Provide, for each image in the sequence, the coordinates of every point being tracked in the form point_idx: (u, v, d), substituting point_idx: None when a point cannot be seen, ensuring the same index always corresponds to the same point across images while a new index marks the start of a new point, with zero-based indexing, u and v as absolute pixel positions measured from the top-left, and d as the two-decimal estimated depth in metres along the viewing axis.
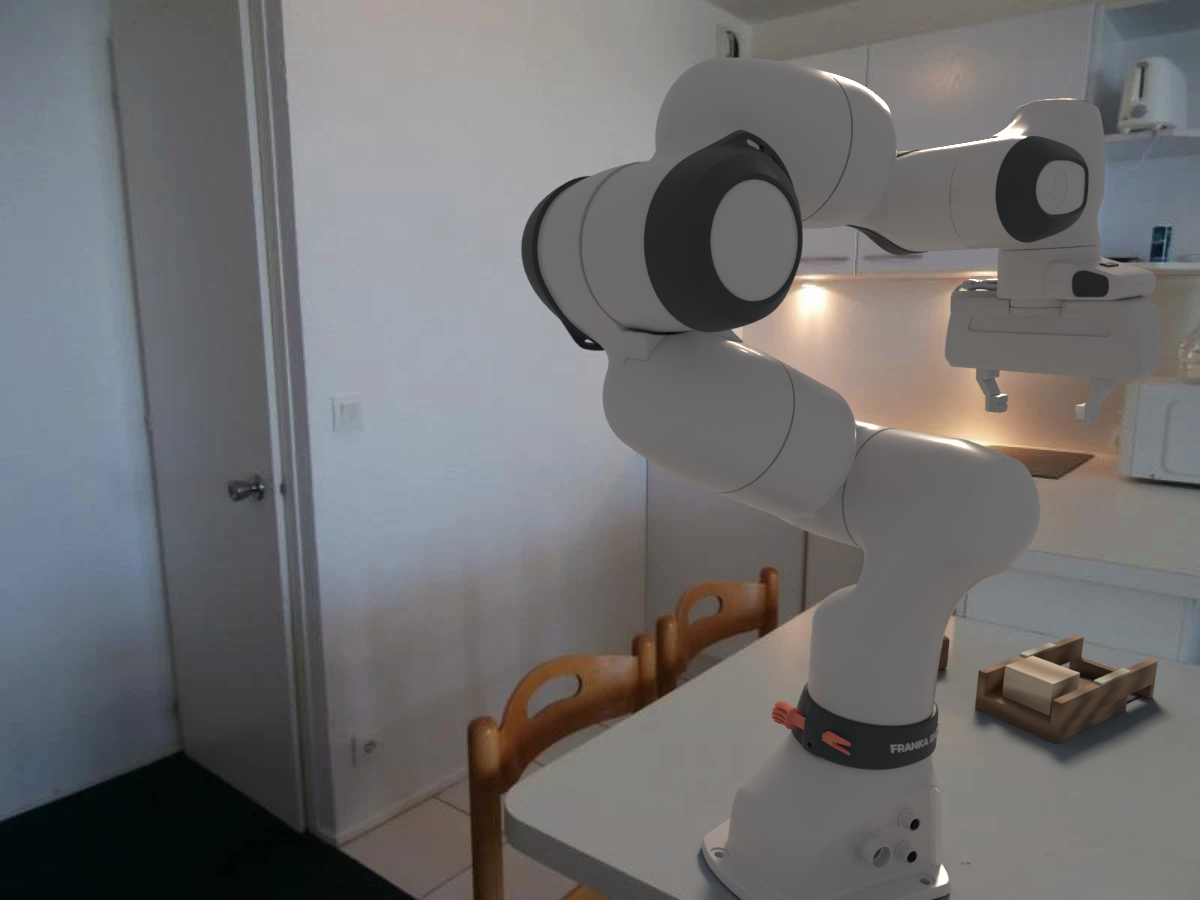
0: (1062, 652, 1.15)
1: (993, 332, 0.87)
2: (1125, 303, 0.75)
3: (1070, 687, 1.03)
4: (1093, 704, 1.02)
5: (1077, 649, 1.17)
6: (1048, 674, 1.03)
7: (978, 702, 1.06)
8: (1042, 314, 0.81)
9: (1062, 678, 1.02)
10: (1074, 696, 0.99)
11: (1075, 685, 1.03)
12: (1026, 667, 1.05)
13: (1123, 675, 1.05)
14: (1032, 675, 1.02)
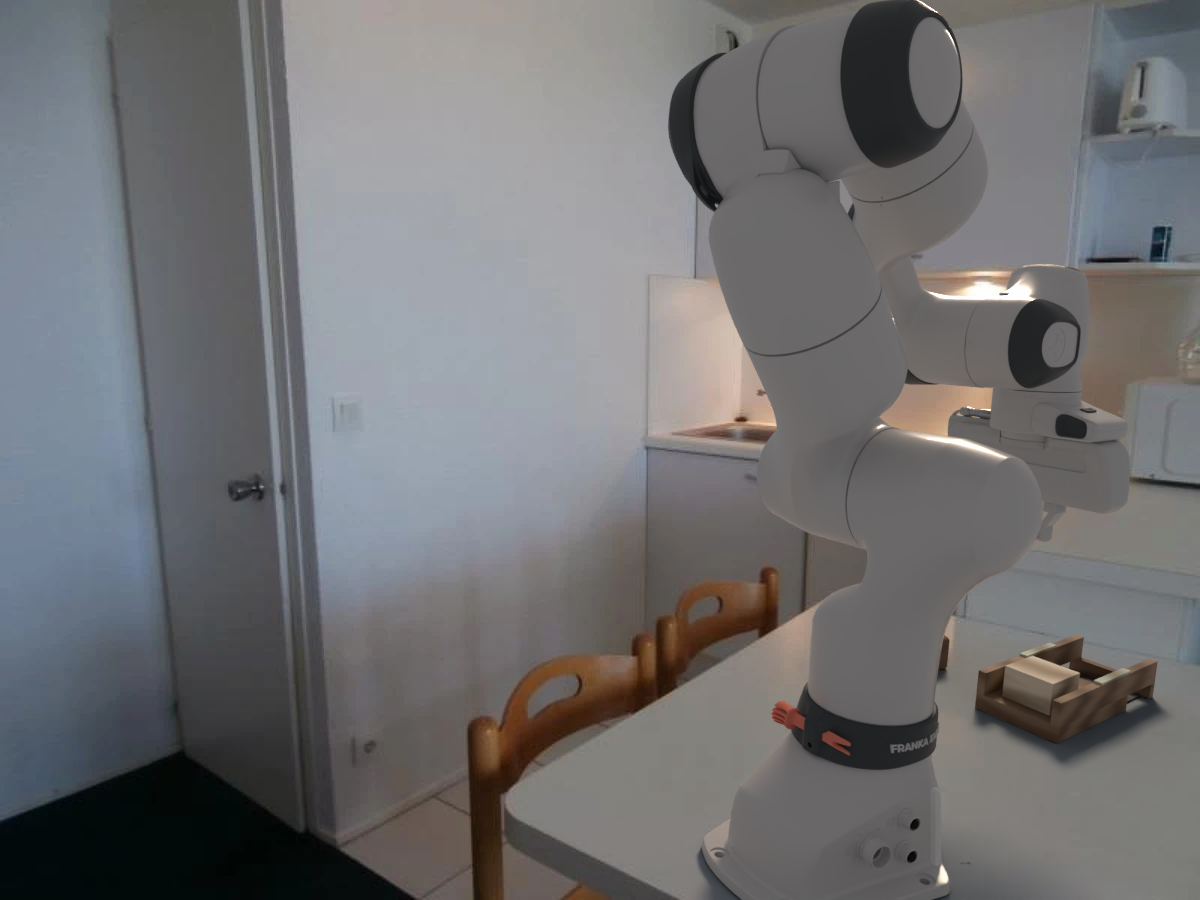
0: (1062, 652, 1.15)
1: None
2: (1100, 446, 0.87)
3: (1070, 687, 1.03)
4: (1093, 704, 1.02)
5: (1077, 649, 1.17)
6: (1048, 674, 1.03)
7: (978, 702, 1.06)
8: (1028, 447, 0.92)
9: (1062, 678, 1.02)
10: (1074, 696, 0.99)
11: (1075, 685, 1.03)
12: (1026, 667, 1.05)
13: (1123, 675, 1.05)
14: (1032, 675, 1.02)
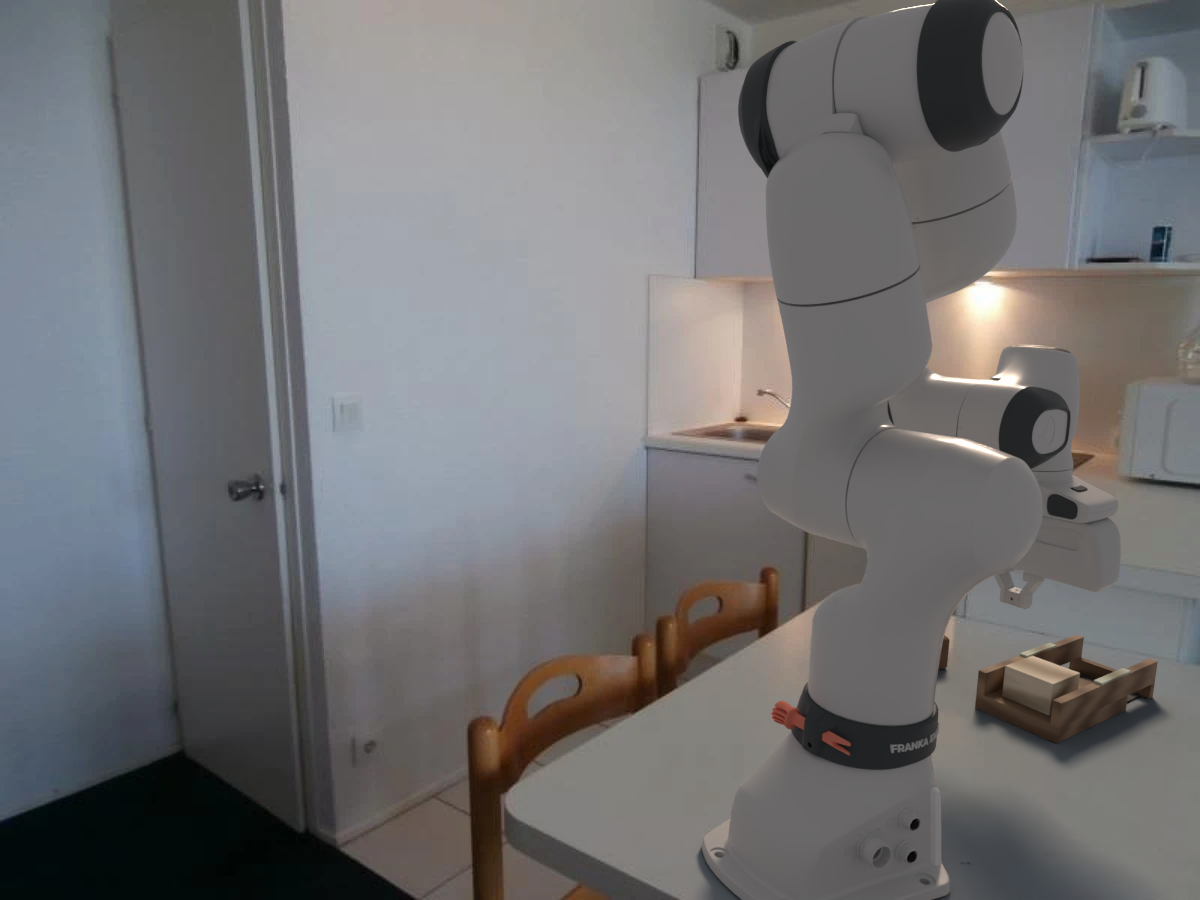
0: (1062, 652, 1.15)
1: None
2: (1091, 527, 0.88)
3: (1070, 687, 1.03)
4: (1093, 704, 1.02)
5: (1077, 649, 1.17)
6: (1048, 674, 1.03)
7: (978, 702, 1.06)
8: None
9: (1062, 678, 1.02)
10: (1074, 696, 0.99)
11: (1075, 685, 1.03)
12: (1026, 667, 1.05)
13: (1123, 675, 1.05)
14: (1032, 675, 1.02)
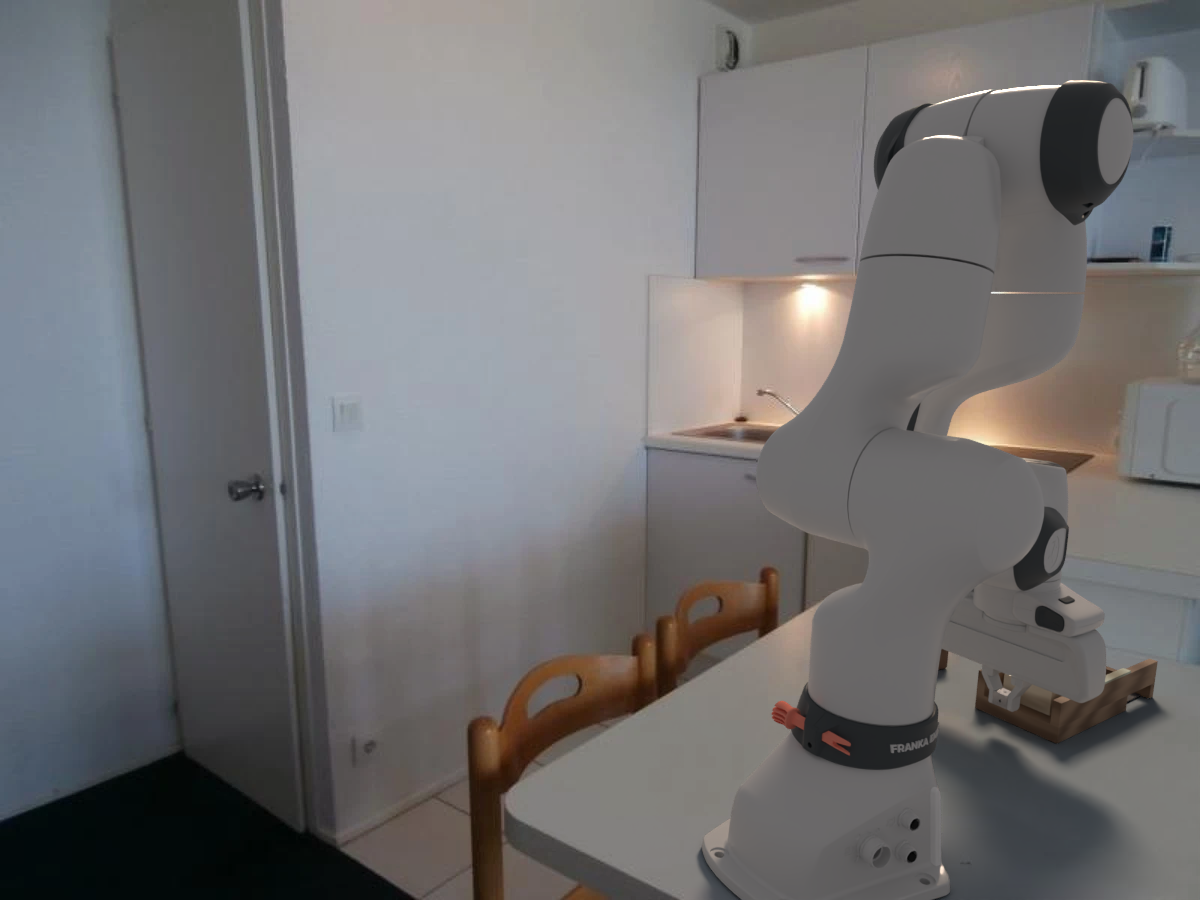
0: None
1: (968, 628, 1.02)
2: (1077, 640, 0.90)
3: None
4: (1093, 704, 1.02)
5: None
6: None
7: (978, 702, 1.06)
8: (1009, 629, 0.96)
9: None
10: None
11: None
12: None
13: (1123, 675, 1.05)
14: None
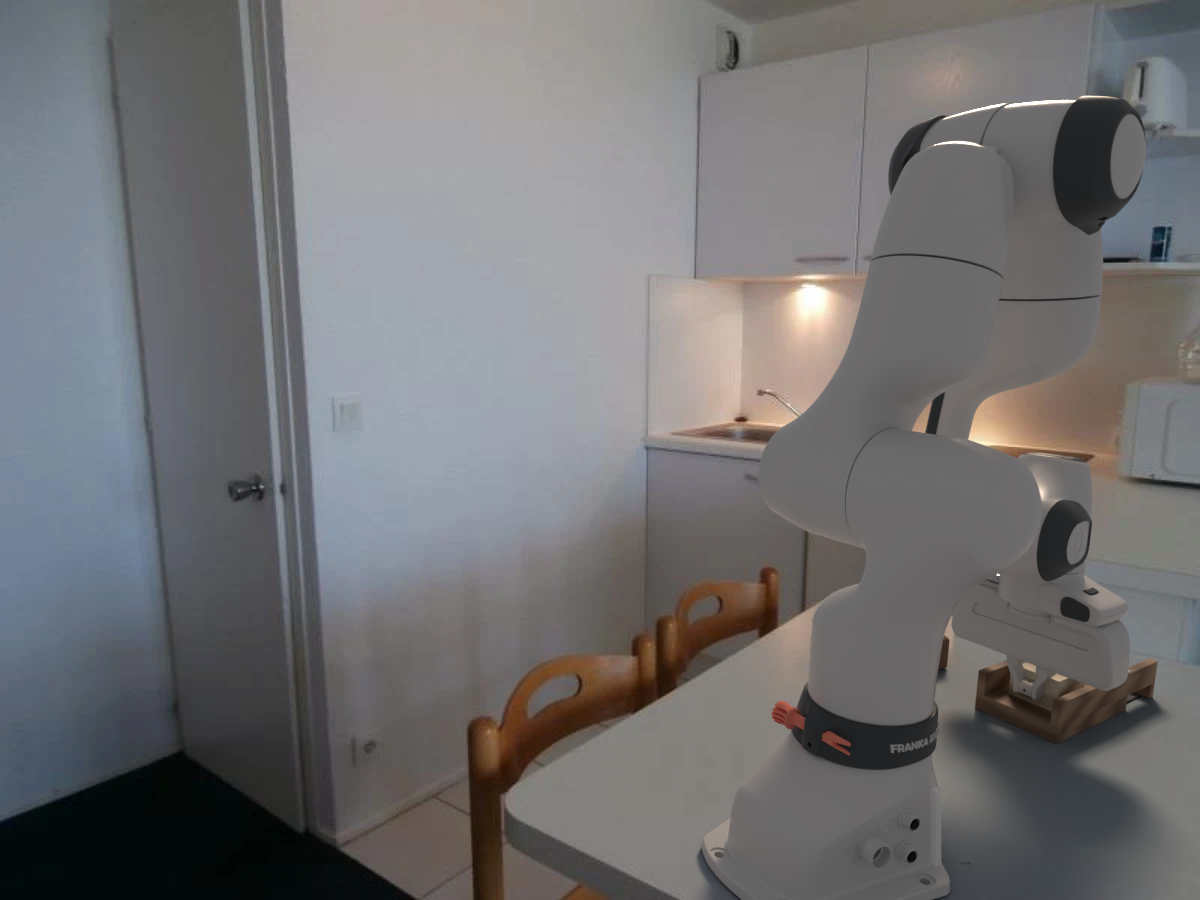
0: None
1: (993, 619, 1.04)
2: (1102, 630, 0.93)
3: (1076, 684, 1.03)
4: (1093, 704, 1.02)
5: None
6: None
7: (978, 702, 1.06)
8: (1035, 620, 0.99)
9: None
10: (1074, 696, 0.99)
11: None
12: (1032, 665, 1.05)
13: None
14: None
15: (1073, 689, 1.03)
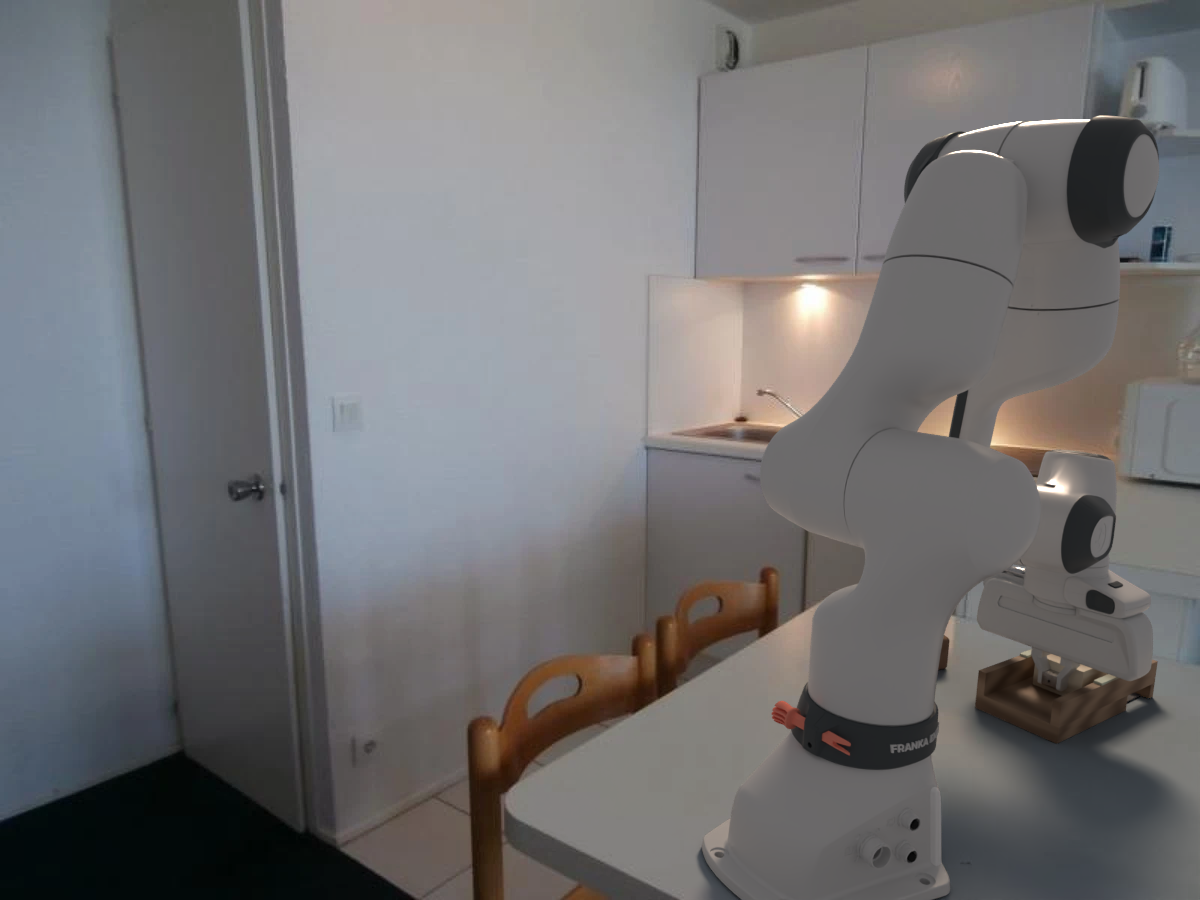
0: None
1: (1018, 612, 1.07)
2: (1127, 622, 0.96)
3: (1099, 675, 1.06)
4: (1093, 704, 1.02)
5: None
6: None
7: (978, 702, 1.06)
8: (1060, 612, 1.02)
9: None
10: (1074, 696, 0.99)
11: (1104, 674, 1.07)
12: (1056, 656, 1.08)
13: None
14: None
15: None
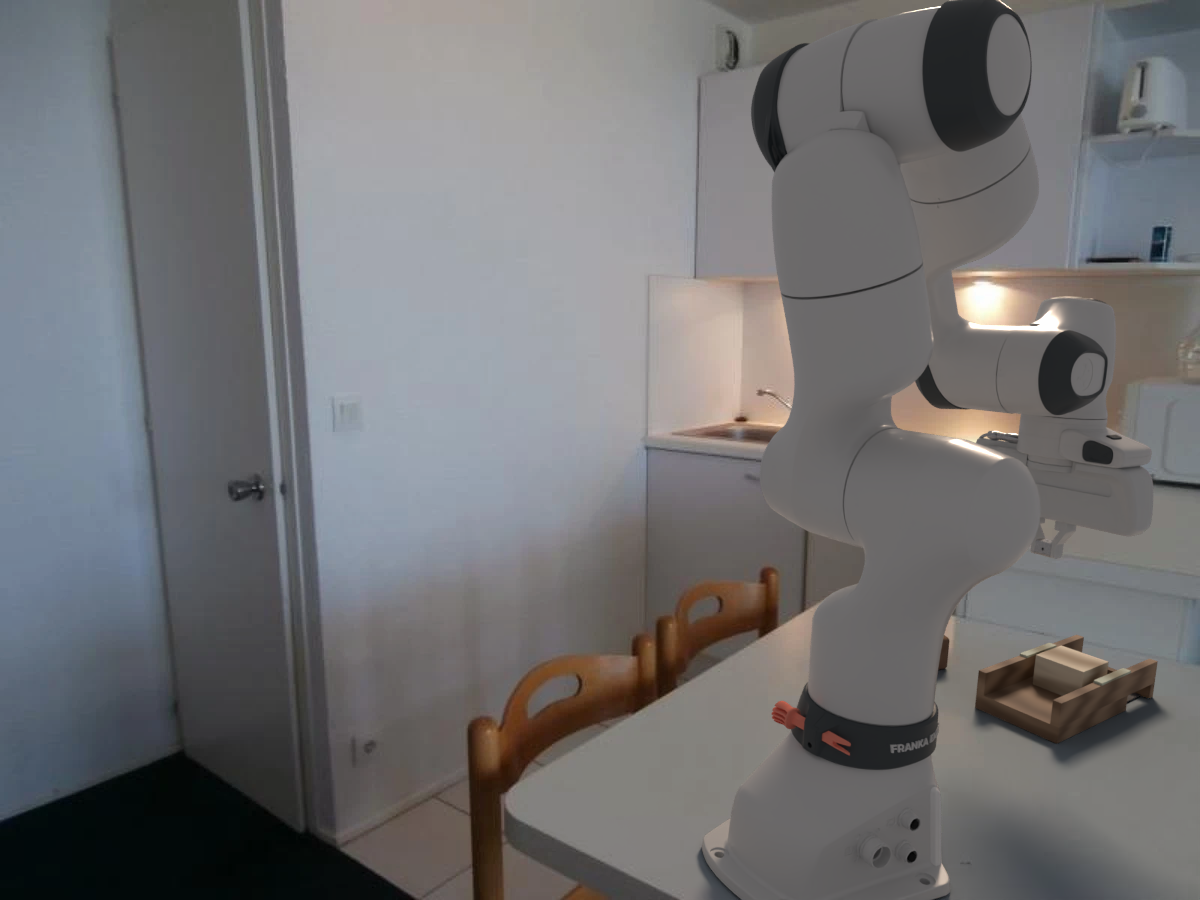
0: None
1: None
2: (1126, 472, 0.90)
3: (1099, 675, 1.06)
4: (1093, 704, 1.02)
5: (1077, 649, 1.17)
6: (1078, 663, 1.06)
7: (978, 702, 1.06)
8: (1055, 471, 0.96)
9: (1091, 666, 1.05)
10: (1074, 696, 0.99)
11: (1104, 674, 1.07)
12: (1056, 656, 1.08)
13: (1123, 675, 1.05)
14: (1062, 664, 1.06)
15: None
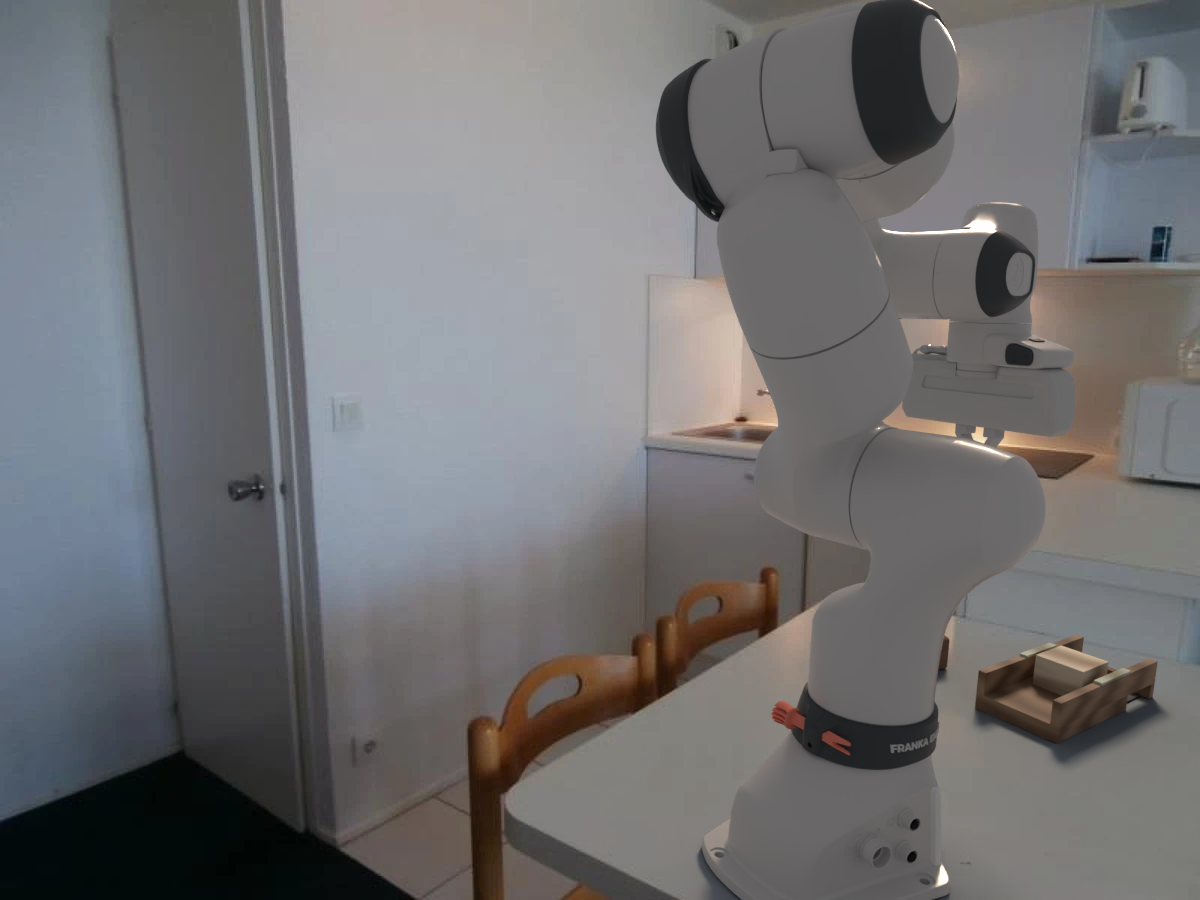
0: None
1: (942, 389, 1.03)
2: (1046, 372, 0.92)
3: (1099, 675, 1.06)
4: (1093, 704, 1.02)
5: (1077, 649, 1.17)
6: (1078, 663, 1.06)
7: (978, 702, 1.06)
8: (981, 377, 0.98)
9: (1091, 666, 1.05)
10: (1074, 696, 0.99)
11: (1104, 674, 1.07)
12: (1056, 656, 1.08)
13: (1123, 675, 1.05)
14: (1062, 664, 1.06)
15: None
